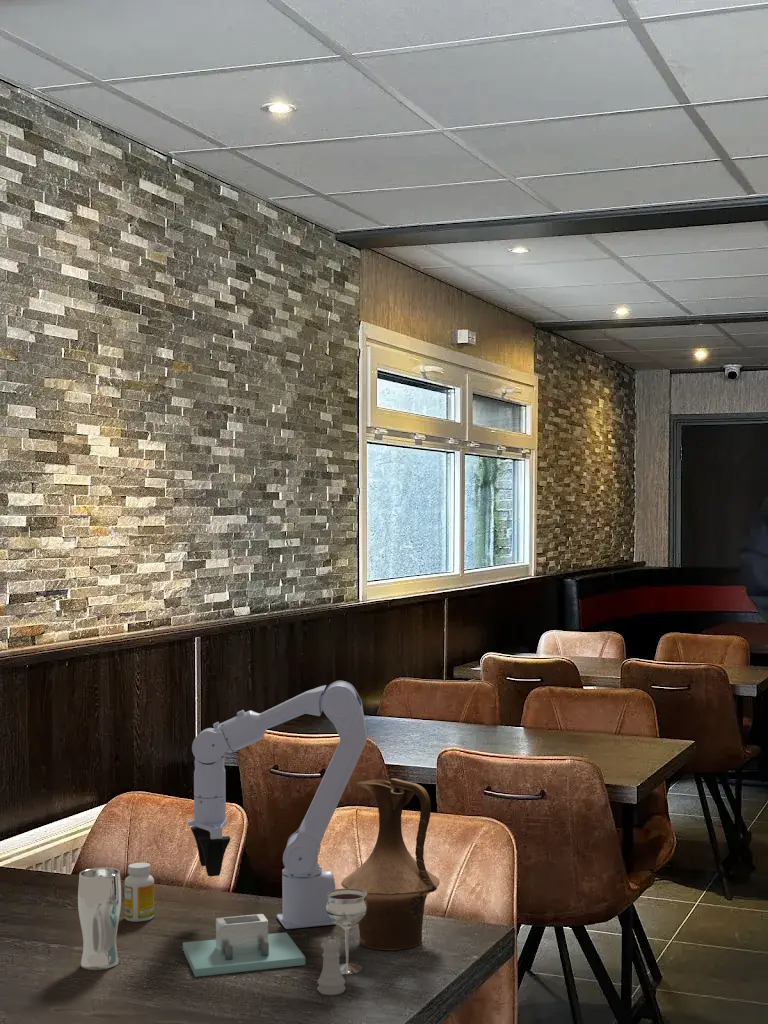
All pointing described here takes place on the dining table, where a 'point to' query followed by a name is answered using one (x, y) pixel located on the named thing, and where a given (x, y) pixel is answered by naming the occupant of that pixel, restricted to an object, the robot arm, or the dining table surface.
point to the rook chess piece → (331, 968)
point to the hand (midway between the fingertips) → (210, 870)
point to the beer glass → (99, 916)
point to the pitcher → (394, 871)
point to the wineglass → (347, 916)
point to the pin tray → (242, 956)
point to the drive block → (241, 933)
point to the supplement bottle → (139, 893)
